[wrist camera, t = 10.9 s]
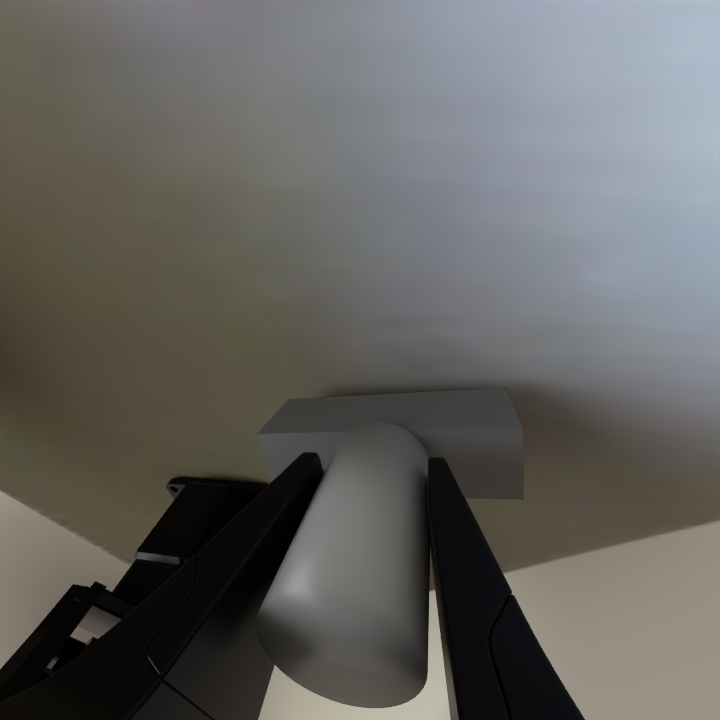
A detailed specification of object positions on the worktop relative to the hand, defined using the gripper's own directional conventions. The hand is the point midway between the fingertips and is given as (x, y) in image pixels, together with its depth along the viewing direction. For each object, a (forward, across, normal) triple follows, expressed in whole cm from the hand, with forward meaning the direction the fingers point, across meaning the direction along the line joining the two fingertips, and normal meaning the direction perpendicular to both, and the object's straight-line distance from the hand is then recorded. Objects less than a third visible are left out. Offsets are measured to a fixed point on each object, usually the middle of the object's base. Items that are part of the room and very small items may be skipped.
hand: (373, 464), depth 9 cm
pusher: (+3, 0, +2) cm, 4 cm away
